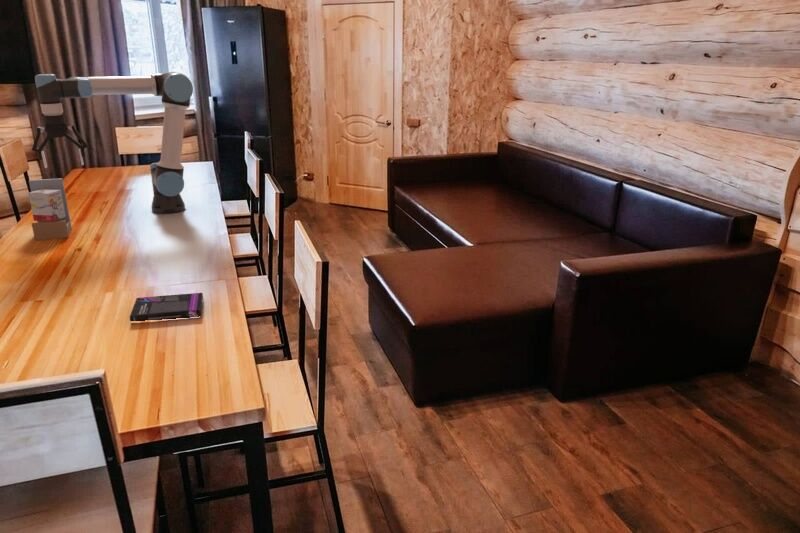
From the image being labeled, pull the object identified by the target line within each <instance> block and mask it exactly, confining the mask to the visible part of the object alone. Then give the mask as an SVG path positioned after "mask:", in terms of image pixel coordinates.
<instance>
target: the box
mask: <svg viewBox="0 0 800 533" xmlns="http://www.w3.org/2000/svg"><path fill="white" fill-rule="evenodd" d="M202 300H203V301H204V296H203V293H202V292H193V293H179V294H169V295H168V294H167V295H155V296H145V297H143V296H142V297H136V298H135V302H134V304H133V307H132V308H131V309H132V310H131V312H130V315H129V322H130V321H145V320H162V319H176V318H190V317H199V316H201V317H202V312H201V309H202V310H203V303H202Z"/></svg>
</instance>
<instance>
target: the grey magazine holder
mask: <svg viewBox="0 0 800 533" xmlns="http://www.w3.org/2000/svg"><path fill="white" fill-rule="evenodd" d="M63 180H64V179H63V178H62V177H61V178H46V179H45V178H44V179H29V180H28V184H29V189H30V192H33V191H37V190H40V189H55V190H61V193H62V199H63V205H64V211H65V216H66V217H63V218H61V219H58V220H55V221H53V222H51V221H36V222H32V223H31V228H32V233H33V238H34V241H45V240H55V239H54V238H57V239H66V238H69V237H70V234H71V232H72V229H73V228H72V227H73V226H72V223H71V218H70V212H69V206H68V201H67V197H66V191H65V185H64V181H63Z"/></svg>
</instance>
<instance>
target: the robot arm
mask: <svg viewBox="0 0 800 533" xmlns="http://www.w3.org/2000/svg"><path fill="white" fill-rule="evenodd" d="M34 82H35V88H36V92H37V95H38V96H37V97H38V100H39V106H40V109H41V114H42V115H43V116H42V118H43V123H44V127H41V126H37V127H36V136H35V139H34V142H33V144H32V148H31V150H32V152H36V153H37V154H38V159H39V160H40V161H42V162H43V163H42V164H43V166H44V169H47V168H48V164H47V159H46V155H45V151H44V150H43V149H44V148H45V146H46V145H47V143H48V142H49V140H50V139H51V138H54V139H56V138H64V137H65V138H66V139H68V140H69V141H70V142H71V143H73V144H74V145H75V146H77V148H78V155H79V159H80V163H81V164H80V165H81V166H84V165H85V163H84V158H85V155H86V153H85V149H86V148H88V147H89V146H88V145H89V144H88V143H87V142H86V141H85V139H84V138H83V137H82V135H81V133H80V132H79V131H78V130H77V128H76V125H75V124H73V125H69V126H68V125H67V123H66V118H65V114H63V113H64V108H63V104H62V99H79V98H80V99H85V98H86V99H87V98H92V97H93V96H107V95H111V96H113V95H154V97H161V104H163V106H164V111H163V112H164V113H163V123H162V124H163V126H162V136H161V148H160V151H161V152H160V160H159V161H158V162H153V163H151V164H150V165H149V171H150V175H151V183H152V191H153V192H152V193H153V197H152V202H151V212H152V213H156V214H175V213H179V212H182V210H183V211H185V209H186V204H185V202H184V200H183V198H182V196H181V193H182V192H183V190H184V188H185V180H184V169H185V167H184V166H183V164H182V163H181V162H182V154H183V141H184V131H185V118H186V110H188V109H189V108H190V106H191V104H190V103H191V98H192V95H193V92H194V86H193V83H192V81H191V80H190V78H189V77H188V76H187V75H185V74H183V73H180V72H176V71H168V72H163V73H152V74H150V75H148V76H147V75H145V76H143V75H142V76H141V75H140V76H139V75H138V76H136V75H133V76H70V77H68V78H62V79H61V78H57V76H56V74H55V73H54V74H53V73H45V74H43V73H42V74H41V73H39V74H36V75H35V76H34ZM69 130H70V131H71V132H72V133H73V134H74V135H75V136H76V137H77V139H78V140H79V141H80V142H79V141H78V140H76V139H75V138H74V137H73V136H71V135H70V133H68V131H69ZM44 131H45V133H47V136H46V137H45V139H44V140H43V142H42V143H41V144H40V145H39V147H38V144H39V142H40V138H41V135H42V134H43V133H44Z"/></svg>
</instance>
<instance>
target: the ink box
mask: <svg viewBox="0 0 800 533" xmlns="http://www.w3.org/2000/svg"><path fill="white" fill-rule="evenodd" d="M28 197H29V201H30V207H31V212H32V218H33V221H36V222H37V221H51V222H53V221H55V220H58V219H61V218H63V217H66V216H65V211H64V205H63V199H62V193H61V190H55V189H40V190H37V191H33V192H31V191H30V192H28Z"/></svg>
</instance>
